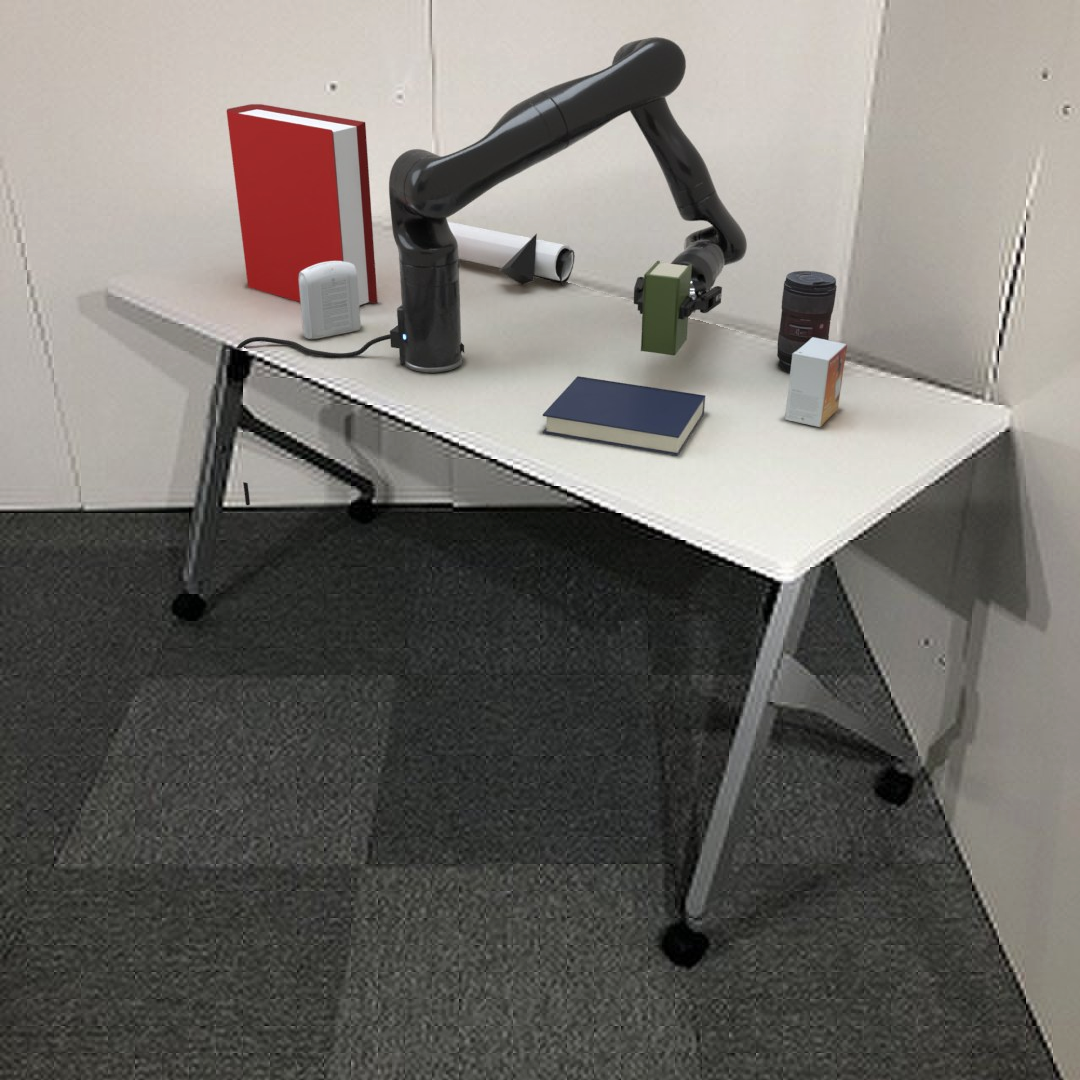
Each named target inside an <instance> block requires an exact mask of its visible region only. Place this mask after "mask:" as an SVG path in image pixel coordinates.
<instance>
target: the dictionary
mask: <svg viewBox="0 0 1080 1080" xmlns="http://www.w3.org/2000/svg"><path fill="white" fill-rule="evenodd" d="M691 270H692V265H690V264H689V265H688V266H685V265H676V264H671V263H666V262H661V261H660V260H656V261H655V263H653V265H652V266H651V267H650V268H649V269H648V270H647V271H646V272H645V273H644V274H643V277H644V291H643V313H642V314H641V315H642V317H641V336H640V337H641V339H640V352H645V353H652V354H658V355H659V354H660V355H668V356H675V357H676V355H677V354H678V352H679V351H680V350H681V349H682V347H683V346H684V345H685V343H686V342H687V340H688V331H689V330H688V329H689V317H685V319H684V320H683V319H679V308H680V305H681V303H682V302H683V301H684V300H685V298H688V294H689V293H690V285H691Z"/></svg>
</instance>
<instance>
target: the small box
mask: <svg viewBox="0 0 1080 1080" xmlns="http://www.w3.org/2000/svg"><path fill="white" fill-rule="evenodd" d="M847 349H848V344H847V343H843V342H838V341H835V340H830V339H829V340H824V339H819V338H814V337H812V338H811V339H810V340H809V341H808V342H807V343H805V344H804V345H803V346H802V347H801V348H799V349H798V350H797V351H796V352H794V353H793V354H792V362H791V371H790V373H789V380H788V388H787V397H786V398H787V399H786V405H785V407H786V408H785V417H784V419H785V420H786V421H790V422H795V423H799V424H804V425H809V426H813V427H817V428H821V427H822V426H823V425H824V424H825V423H826V422H827V421H828V419H830V418H831V417H832V416H833V415H834V414H835V413H836V412H838V410H839V407H840V406H839V404H840V396H841V391H842V384H843V376H844V370H845V363H846V356H847Z"/></svg>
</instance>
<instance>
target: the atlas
mask: <svg viewBox="0 0 1080 1080" xmlns="http://www.w3.org/2000/svg"><path fill="white" fill-rule="evenodd" d="M705 405H706V395H704V394H698V393H692V392H686V391H685V392H684V391H680V390H679V391H678V390H671V389H665V388H659V387H652V386H645V385H639V384H633V383H632V384H631V383H626V382H625V383H624V382H619V381H613V380H605V379H598V378H593V377H592V378H591V377H586V376H579V375H578V376H576V377H575V378H574V380H572V381H571V383H570V384H569V385H568V386H567V387H566V388H565V389H564V390H563V391H562V393H560V394H559V396H558V397H557V398H556V399H555V400H554V401H553V402H552V403H551V404H550V406H548V408H547V409H546V410H545V411H544V412H543V413H542V417H546V426H545V428H544V430H542V434H545V435H551V436H557V437H563V438H569V439H574V440H575V439H576V440H580V441H587V442H593V443H599V444H605V445H610V446H616V447H622V448H629V449H635V450H640V451H641V450H642V451H646V452H652V453H658V454H663V455H671V456H676V457H677V456H679V454H680V453H681V451H682V450H683V448H684V446H686V443H687V441H688V440H689V438H690V437H691V436H692V434H693V432H694V431H695V429H696V427H697V426H698V424H699V422H700V421H701V420H702V418H703V416H704V415H705V408H706V407H705Z"/></svg>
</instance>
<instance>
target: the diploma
mask: <svg viewBox="0 0 1080 1080" xmlns="http://www.w3.org/2000/svg"><path fill="white" fill-rule="evenodd" d="M447 222H448V225H449V228H450V230H451V232H452V233H453V235H454V237H455V238H456V240H457V243H458V255H459V261H465V262H470V263H476V264H481V265H485V266H489V267H493V268H498V269H499V270H498V272H500V273H501V274H503V275H505V276H507V277H508V278H509V279H512V280H513V281H515V282H517V283H518V284H520V285H523V286H524V285H526V284H530V283H532V282H534V281H535V278H537V279H541V280H545V281H549V282H552V283H555V284H559V285H562V286H563V285H565V284H566V283H567V282H568V281H569V279H570V277H571V274H572V272H573V268H574V264H575V257H576V256H575V251H574V250H573V249H572V247H571V246H570V245H568V244H563V243H558V242H554V241H548V240H543V239H538V238H537V237H538V233H535V234H534V235H533V236H532V237H528V236H522V235H518V234H513V233H507V232H503V231H498V230H492V229H488V228H482V227H477V226H472V225H467V224H463V223H457V222H453V221H449V220H447Z"/></svg>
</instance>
